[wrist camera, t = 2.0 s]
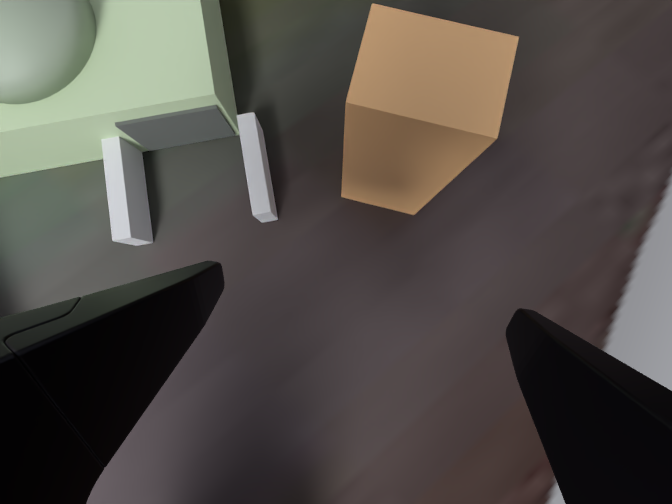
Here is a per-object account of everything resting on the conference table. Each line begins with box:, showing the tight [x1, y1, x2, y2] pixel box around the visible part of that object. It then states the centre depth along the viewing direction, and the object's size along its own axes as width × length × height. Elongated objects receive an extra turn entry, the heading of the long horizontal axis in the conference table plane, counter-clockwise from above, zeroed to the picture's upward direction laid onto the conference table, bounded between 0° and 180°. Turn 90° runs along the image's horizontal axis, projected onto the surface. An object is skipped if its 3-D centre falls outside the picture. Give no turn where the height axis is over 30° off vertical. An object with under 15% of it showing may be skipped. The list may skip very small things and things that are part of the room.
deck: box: [0, 0, 278, 246], centre depth 20 cm, size 19×24×7 cm
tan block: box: [341, 3, 519, 215], centre depth 17 cm, size 4×6×12 cm
